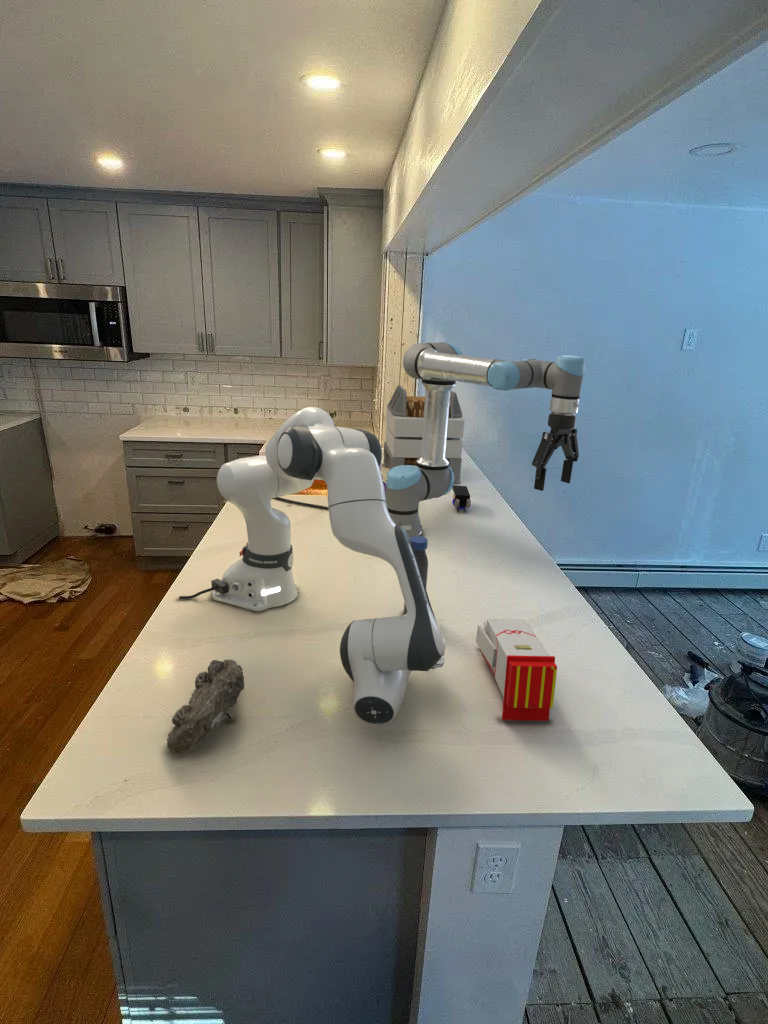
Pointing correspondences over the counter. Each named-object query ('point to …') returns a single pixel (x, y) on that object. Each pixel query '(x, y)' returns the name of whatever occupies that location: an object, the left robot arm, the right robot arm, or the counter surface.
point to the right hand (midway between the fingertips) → (552, 485)
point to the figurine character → (461, 497)
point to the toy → (519, 668)
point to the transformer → (419, 431)
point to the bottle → (421, 568)
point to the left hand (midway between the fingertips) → (403, 626)
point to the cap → (419, 543)
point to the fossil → (206, 705)
